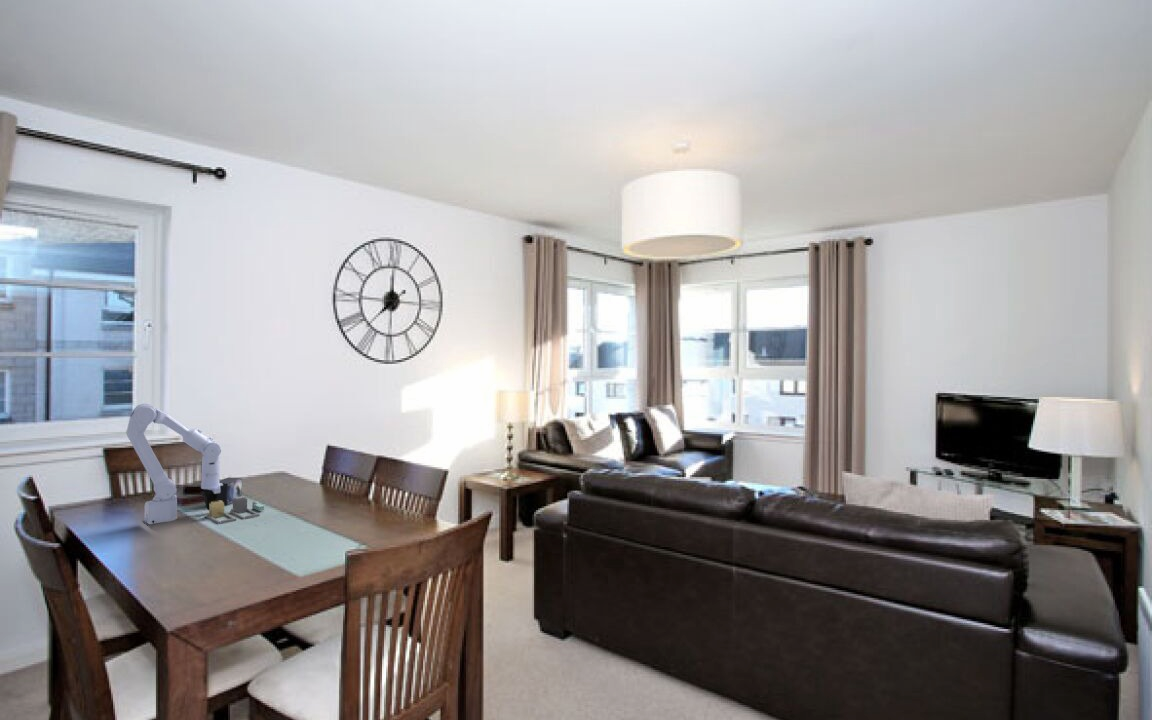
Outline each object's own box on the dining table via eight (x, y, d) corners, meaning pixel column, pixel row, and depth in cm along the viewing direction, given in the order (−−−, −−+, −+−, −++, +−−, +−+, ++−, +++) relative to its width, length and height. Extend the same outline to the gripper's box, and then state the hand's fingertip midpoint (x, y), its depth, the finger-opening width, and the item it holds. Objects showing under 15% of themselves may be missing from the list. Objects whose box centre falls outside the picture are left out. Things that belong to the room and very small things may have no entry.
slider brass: (212, 518, 215) (212, 503, 215) (209, 516, 217) (209, 501, 217) (224, 515, 218) (224, 501, 218) (221, 514, 220) (221, 499, 220)
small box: (227, 509, 232) (227, 483, 232) (211, 508, 232) (211, 482, 232) (242, 502, 243) (243, 477, 243) (227, 502, 243) (227, 477, 243)
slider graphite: (235, 513, 221) (235, 499, 221) (232, 512, 223) (232, 497, 223) (247, 511, 224) (247, 497, 224) (244, 510, 226) (244, 495, 226)
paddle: (258, 512, 223) (258, 505, 223) (251, 509, 228) (251, 502, 228) (264, 511, 225) (264, 504, 225) (257, 508, 229) (257, 501, 229)
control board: (209, 530, 205) (209, 523, 205) (194, 521, 216) (194, 515, 216) (274, 517, 222) (275, 511, 222) (257, 509, 232) (257, 503, 232)
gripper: (229, 474, 220) (229, 510, 220) (215, 469, 229) (215, 503, 230) (208, 477, 215) (208, 514, 215) (195, 472, 224) (194, 507, 224)
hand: (210, 509), depth 222 cm, fingers closed
